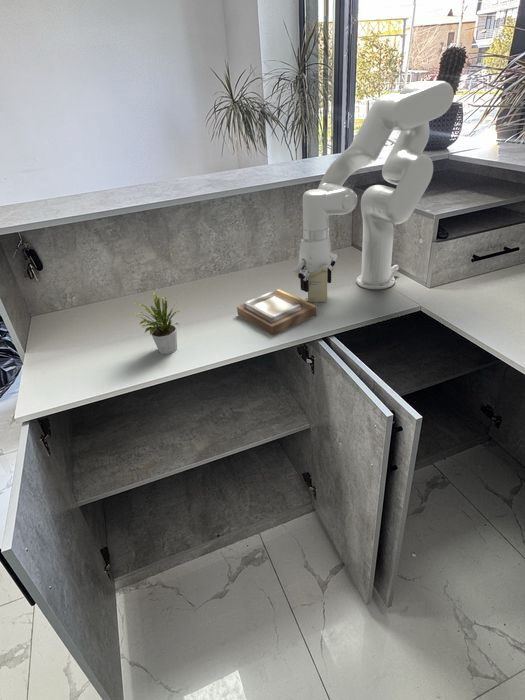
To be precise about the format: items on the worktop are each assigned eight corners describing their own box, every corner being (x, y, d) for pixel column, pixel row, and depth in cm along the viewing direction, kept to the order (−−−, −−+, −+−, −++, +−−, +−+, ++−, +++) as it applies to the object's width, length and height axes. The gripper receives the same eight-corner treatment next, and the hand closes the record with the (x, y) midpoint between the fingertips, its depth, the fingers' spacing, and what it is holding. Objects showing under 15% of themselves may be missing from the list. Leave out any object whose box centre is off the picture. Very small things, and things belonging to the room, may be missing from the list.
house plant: (136, 343, 128) (122, 293, 120) (182, 330, 133) (171, 281, 124) (146, 367, 117) (130, 313, 108) (195, 352, 121) (184, 299, 113)
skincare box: (307, 302, 141) (306, 266, 135) (308, 296, 145) (307, 261, 138) (327, 301, 140) (327, 266, 133) (327, 295, 144) (327, 260, 137)
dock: (279, 297, 146) (278, 285, 143) (316, 315, 133) (316, 302, 130) (237, 315, 138) (236, 302, 135) (272, 335, 125) (271, 322, 123)
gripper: (328, 224, 137) (327, 275, 146) (285, 237, 129) (287, 290, 138) (345, 229, 132) (343, 281, 141) (302, 243, 124) (303, 298, 133)
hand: (316, 286), depth 140 cm, fingers open, 9 cm apart
